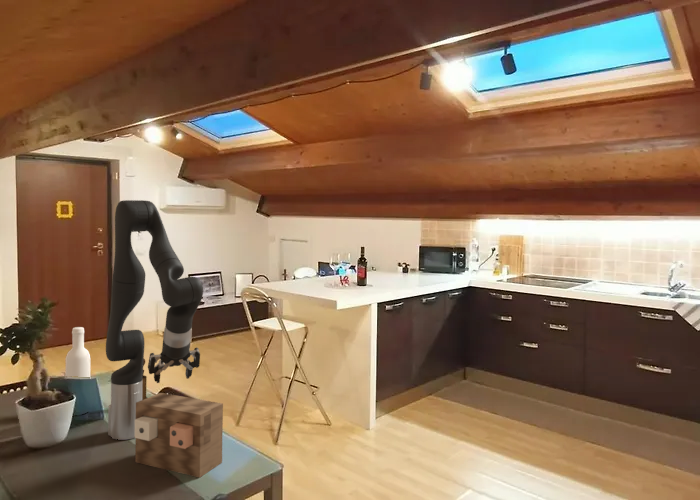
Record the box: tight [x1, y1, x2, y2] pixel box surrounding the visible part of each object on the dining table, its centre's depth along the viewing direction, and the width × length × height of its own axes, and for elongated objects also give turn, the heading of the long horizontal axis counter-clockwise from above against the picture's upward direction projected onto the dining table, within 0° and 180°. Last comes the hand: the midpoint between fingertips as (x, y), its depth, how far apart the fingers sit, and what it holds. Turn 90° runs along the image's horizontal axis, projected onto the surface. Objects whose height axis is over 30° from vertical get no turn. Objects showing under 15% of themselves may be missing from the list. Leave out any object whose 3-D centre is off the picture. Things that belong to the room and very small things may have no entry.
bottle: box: [65, 326, 91, 378], centre depth 188 cm, size 8×8×30 cm
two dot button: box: [170, 423, 194, 449], centre depth 143 cm, size 5×5×5 cm
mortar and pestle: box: [142, 358, 148, 400], centre depth 196 cm, size 7×6×18 cm
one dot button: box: [134, 416, 158, 441], centre depth 148 cm, size 5×5×5 cm
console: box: [134, 392, 224, 479], centre depth 151 cm, size 22×10×17 cm, turn 68°
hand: (172, 378), depth 160 cm, fingers open, 8 cm apart
